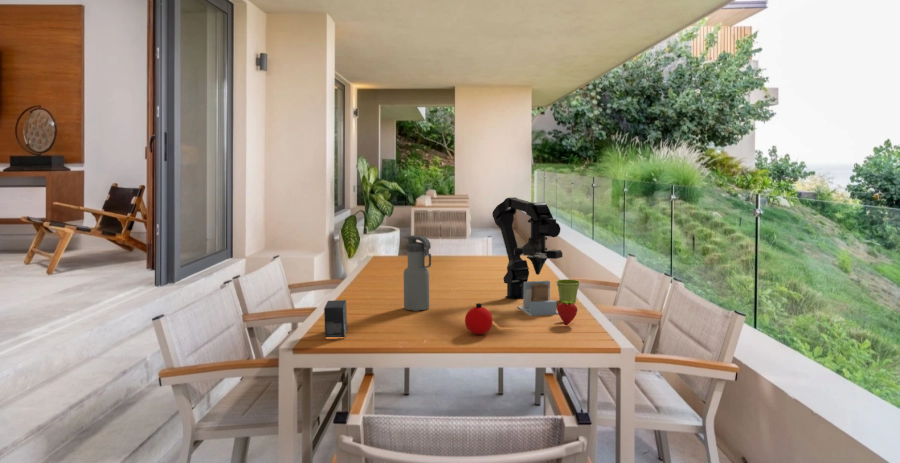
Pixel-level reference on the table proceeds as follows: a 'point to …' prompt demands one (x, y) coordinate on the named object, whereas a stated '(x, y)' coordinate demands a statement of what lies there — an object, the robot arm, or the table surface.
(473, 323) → the ornament
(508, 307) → the table surface
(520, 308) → the light blue base plate
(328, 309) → the small box
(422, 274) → the water bottle
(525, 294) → the jaw
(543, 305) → the fixed jaw
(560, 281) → the plant pot
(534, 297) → the block
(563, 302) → the strawberry
